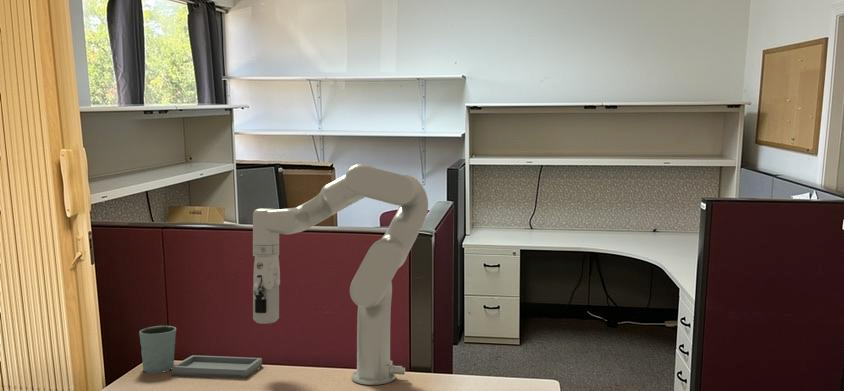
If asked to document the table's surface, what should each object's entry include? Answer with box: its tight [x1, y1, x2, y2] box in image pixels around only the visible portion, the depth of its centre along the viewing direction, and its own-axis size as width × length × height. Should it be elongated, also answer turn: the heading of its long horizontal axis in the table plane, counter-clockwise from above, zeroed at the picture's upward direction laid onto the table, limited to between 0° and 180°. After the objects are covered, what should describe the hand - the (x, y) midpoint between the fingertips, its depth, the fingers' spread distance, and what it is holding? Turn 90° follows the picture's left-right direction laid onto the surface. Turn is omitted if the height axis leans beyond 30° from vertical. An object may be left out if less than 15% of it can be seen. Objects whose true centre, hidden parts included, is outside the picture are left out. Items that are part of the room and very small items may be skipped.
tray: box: [171, 355, 263, 380], centre depth 185 cm, size 22×12×2 cm, turn 83°
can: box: [252, 281, 280, 325], centre depth 183 cm, size 8×8×12 cm
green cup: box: [138, 325, 177, 374], centre depth 186 cm, size 10×10×12 cm
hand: (266, 309), depth 183 cm, fingers closed on can, 7 cm apart
